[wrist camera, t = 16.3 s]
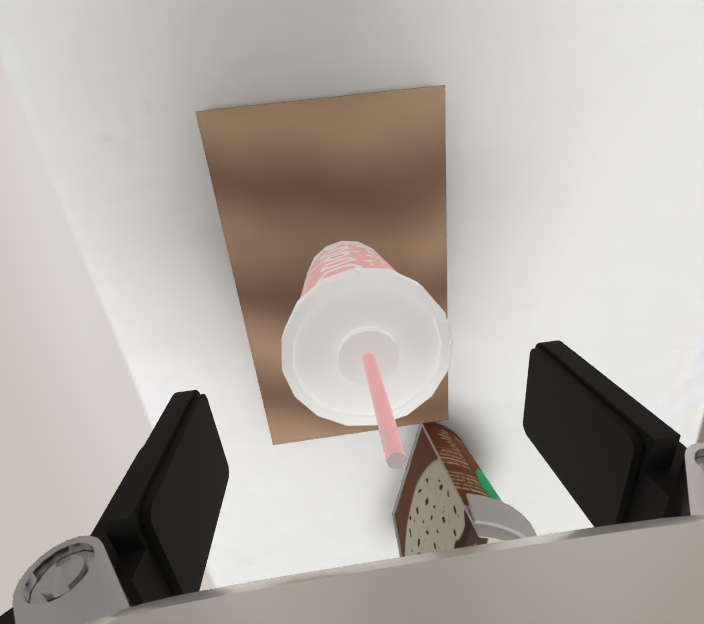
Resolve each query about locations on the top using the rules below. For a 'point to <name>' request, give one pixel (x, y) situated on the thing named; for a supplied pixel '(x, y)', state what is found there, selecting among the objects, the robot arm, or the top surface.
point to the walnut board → (327, 215)
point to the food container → (449, 499)
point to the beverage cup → (364, 343)
